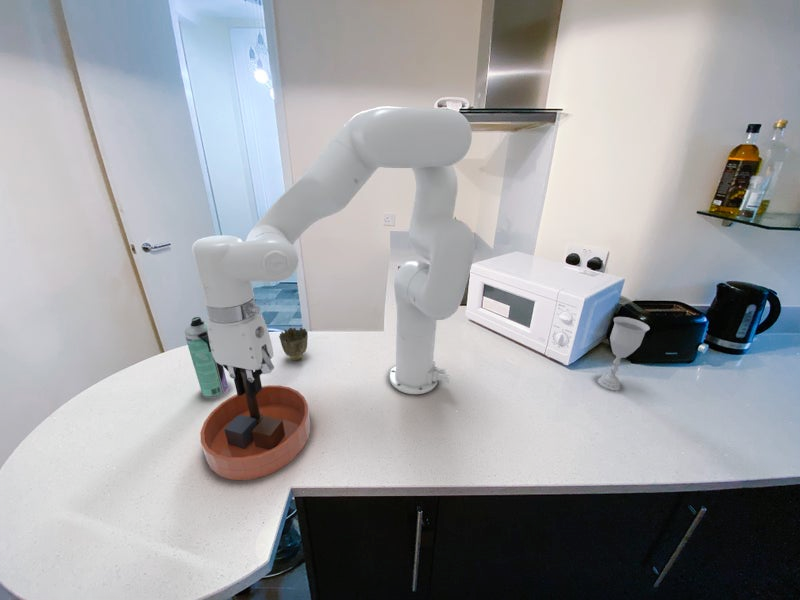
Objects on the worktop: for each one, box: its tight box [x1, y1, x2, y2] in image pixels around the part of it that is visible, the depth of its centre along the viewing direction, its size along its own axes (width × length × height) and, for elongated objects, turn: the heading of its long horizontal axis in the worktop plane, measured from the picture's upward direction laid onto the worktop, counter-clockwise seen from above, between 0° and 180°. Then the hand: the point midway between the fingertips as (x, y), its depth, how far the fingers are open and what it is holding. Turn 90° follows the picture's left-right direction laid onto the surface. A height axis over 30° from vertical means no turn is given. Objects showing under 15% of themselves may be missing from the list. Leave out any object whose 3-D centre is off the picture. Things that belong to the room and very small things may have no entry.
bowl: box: [200, 384, 311, 481], centre depth 63 cm, size 19×19×6 cm
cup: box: [278, 327, 308, 362], centre depth 88 cm, size 8×7×8 cm
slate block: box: [224, 414, 257, 449], centre depth 62 cm, size 4×4×4 cm
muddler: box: [240, 368, 263, 425], centre depth 63 cm, size 3×3×14 cm
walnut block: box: [252, 416, 285, 450], centre depth 62 cm, size 4×4×4 cm
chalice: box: [597, 316, 651, 391], centre depth 79 cm, size 7×7×18 cm
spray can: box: [184, 316, 229, 399], centre depth 72 cm, size 6×6×20 cm
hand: (250, 391), depth 62 cm, fingers closed on muddler
